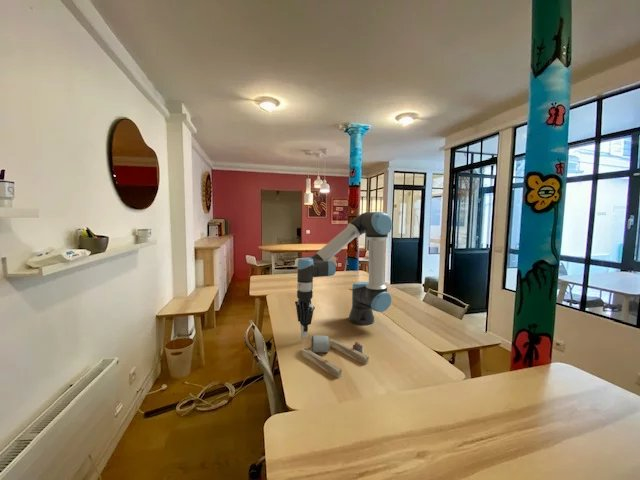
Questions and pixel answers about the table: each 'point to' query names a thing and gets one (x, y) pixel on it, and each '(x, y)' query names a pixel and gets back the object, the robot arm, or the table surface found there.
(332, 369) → the beam channel
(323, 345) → the ceramic mug
